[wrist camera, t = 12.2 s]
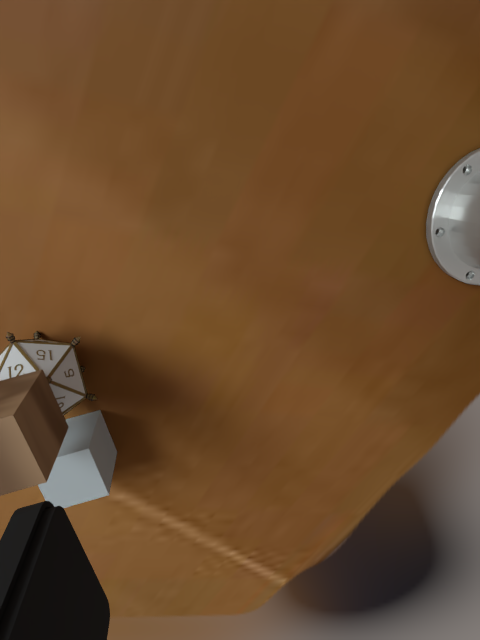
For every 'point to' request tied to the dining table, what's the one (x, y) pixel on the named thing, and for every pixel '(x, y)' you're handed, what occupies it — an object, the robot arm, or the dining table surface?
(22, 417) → the walnut block
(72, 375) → the game die
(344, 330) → the dining table surface
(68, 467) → the grey block
